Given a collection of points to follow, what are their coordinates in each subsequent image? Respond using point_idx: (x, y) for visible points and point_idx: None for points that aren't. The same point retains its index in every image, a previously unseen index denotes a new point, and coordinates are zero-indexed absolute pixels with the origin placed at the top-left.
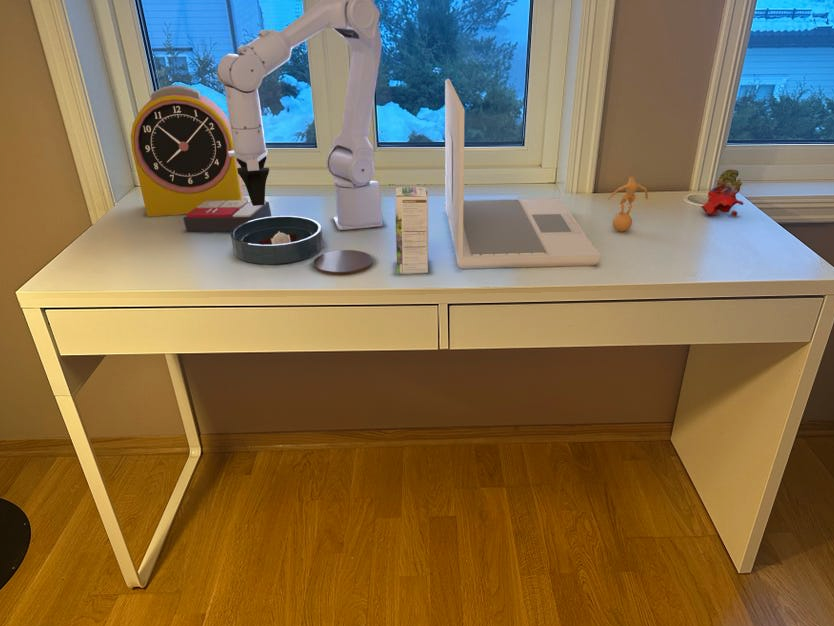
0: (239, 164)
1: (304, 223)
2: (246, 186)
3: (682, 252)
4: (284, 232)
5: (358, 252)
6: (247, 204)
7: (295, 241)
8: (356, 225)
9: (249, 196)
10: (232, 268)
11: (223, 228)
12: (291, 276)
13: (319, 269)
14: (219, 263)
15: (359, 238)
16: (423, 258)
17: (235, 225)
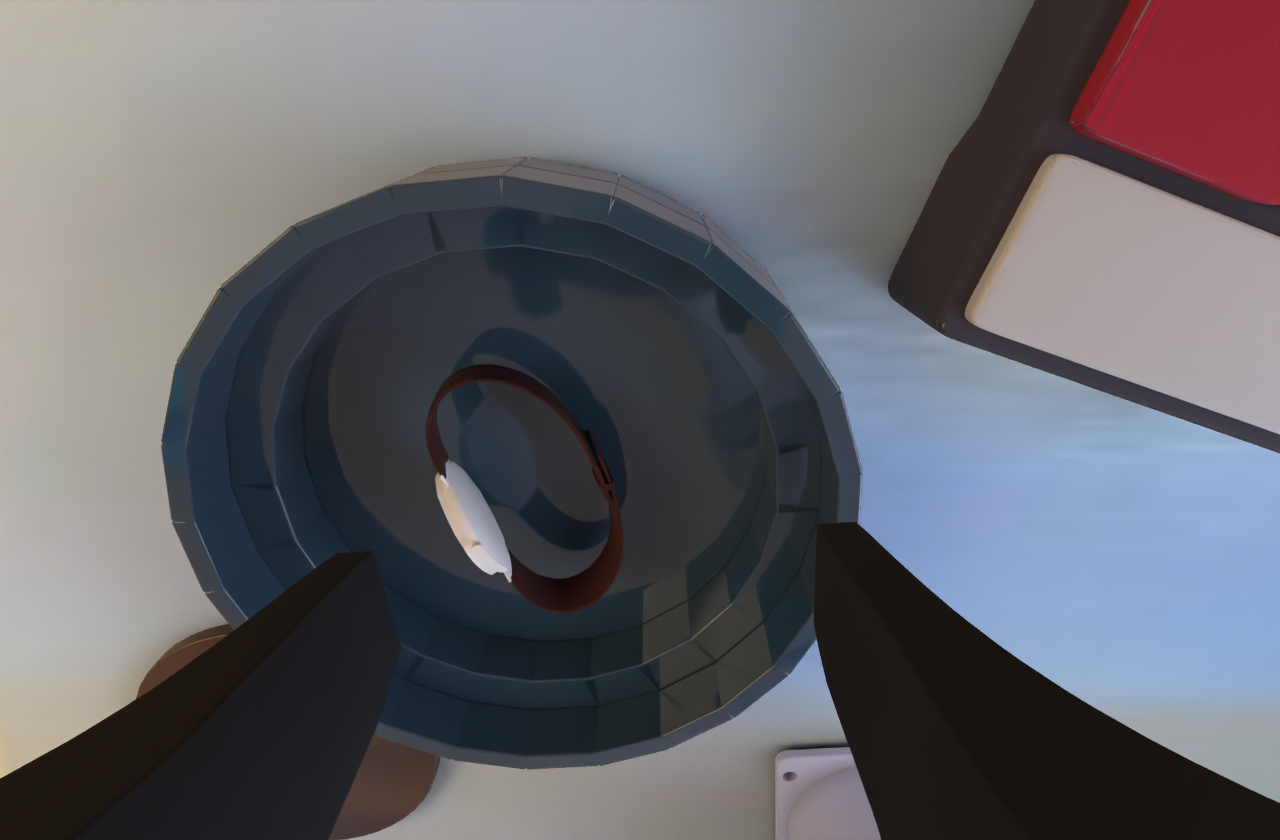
0: (1029, 833)
1: (735, 666)
2: (81, 736)
3: None
4: (761, 512)
5: (395, 805)
6: None
7: (536, 577)
8: (787, 830)
9: (253, 615)
10: (195, 165)
11: (1029, 30)
12: (101, 518)
13: (171, 650)
14: (292, 50)
15: (640, 809)
16: None
17: (977, 161)
